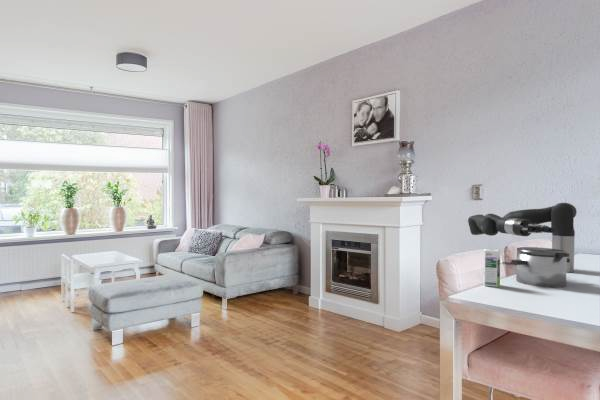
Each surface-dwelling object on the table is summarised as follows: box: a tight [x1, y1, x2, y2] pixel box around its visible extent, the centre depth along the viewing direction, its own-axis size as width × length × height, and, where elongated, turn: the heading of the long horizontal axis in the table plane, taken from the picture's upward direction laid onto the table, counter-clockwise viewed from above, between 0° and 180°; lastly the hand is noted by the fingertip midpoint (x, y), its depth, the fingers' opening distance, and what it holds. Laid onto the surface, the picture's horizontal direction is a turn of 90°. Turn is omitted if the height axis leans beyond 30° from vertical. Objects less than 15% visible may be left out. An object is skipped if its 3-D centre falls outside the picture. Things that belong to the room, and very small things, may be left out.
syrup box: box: [483, 248, 501, 288], centre depth 163 cm, size 6×6×14 cm
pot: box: [510, 251, 570, 288], centre depth 169 cm, size 18×28×12 cm, turn 107°
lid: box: [516, 246, 569, 257], centre depth 168 cm, size 20×18×1 cm
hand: (552, 230), depth 164 cm, fingers closed
